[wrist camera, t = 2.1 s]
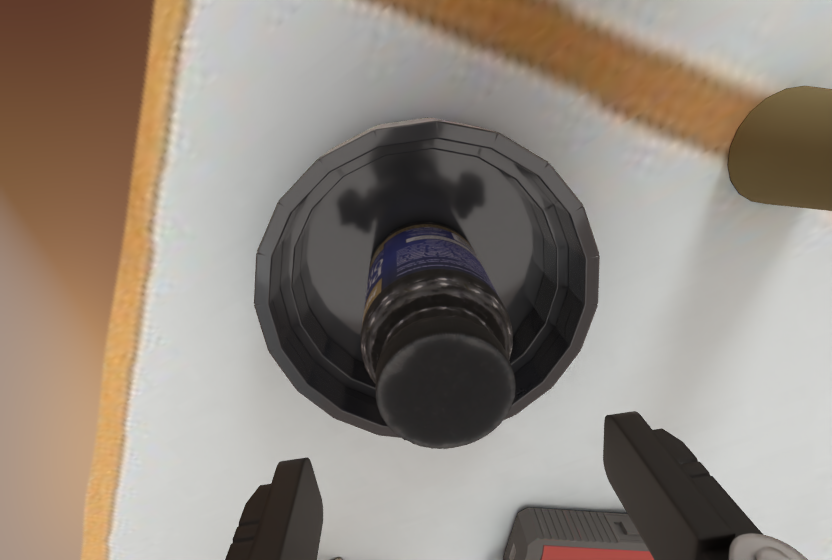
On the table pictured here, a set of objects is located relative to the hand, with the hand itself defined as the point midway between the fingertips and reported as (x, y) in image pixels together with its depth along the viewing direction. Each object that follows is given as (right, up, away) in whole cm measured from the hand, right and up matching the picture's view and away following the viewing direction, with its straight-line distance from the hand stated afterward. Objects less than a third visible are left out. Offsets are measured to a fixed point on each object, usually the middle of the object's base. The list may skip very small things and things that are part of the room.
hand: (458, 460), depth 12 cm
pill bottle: (-1, +5, +13) cm, 14 cm away
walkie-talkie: (+15, -17, +23) cm, 32 cm away
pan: (-1, +5, +13) cm, 14 cm away
